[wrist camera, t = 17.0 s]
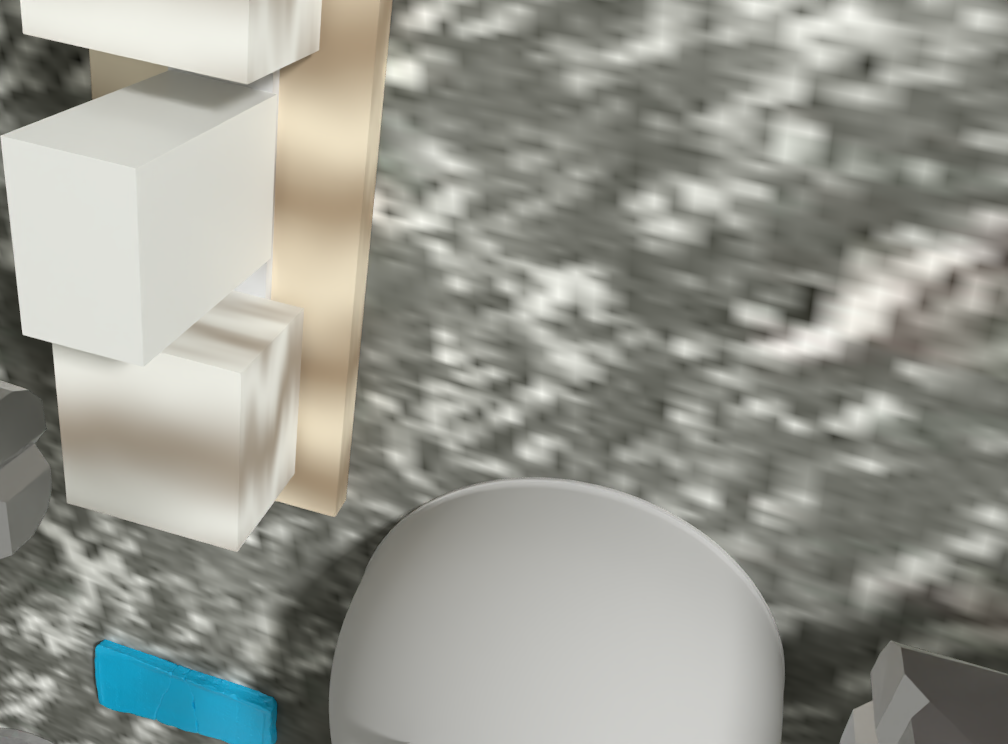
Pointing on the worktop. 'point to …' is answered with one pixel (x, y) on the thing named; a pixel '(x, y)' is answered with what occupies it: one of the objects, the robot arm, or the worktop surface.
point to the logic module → (139, 211)
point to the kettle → (554, 627)
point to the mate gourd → (20, 737)
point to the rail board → (256, 301)
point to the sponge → (182, 696)
